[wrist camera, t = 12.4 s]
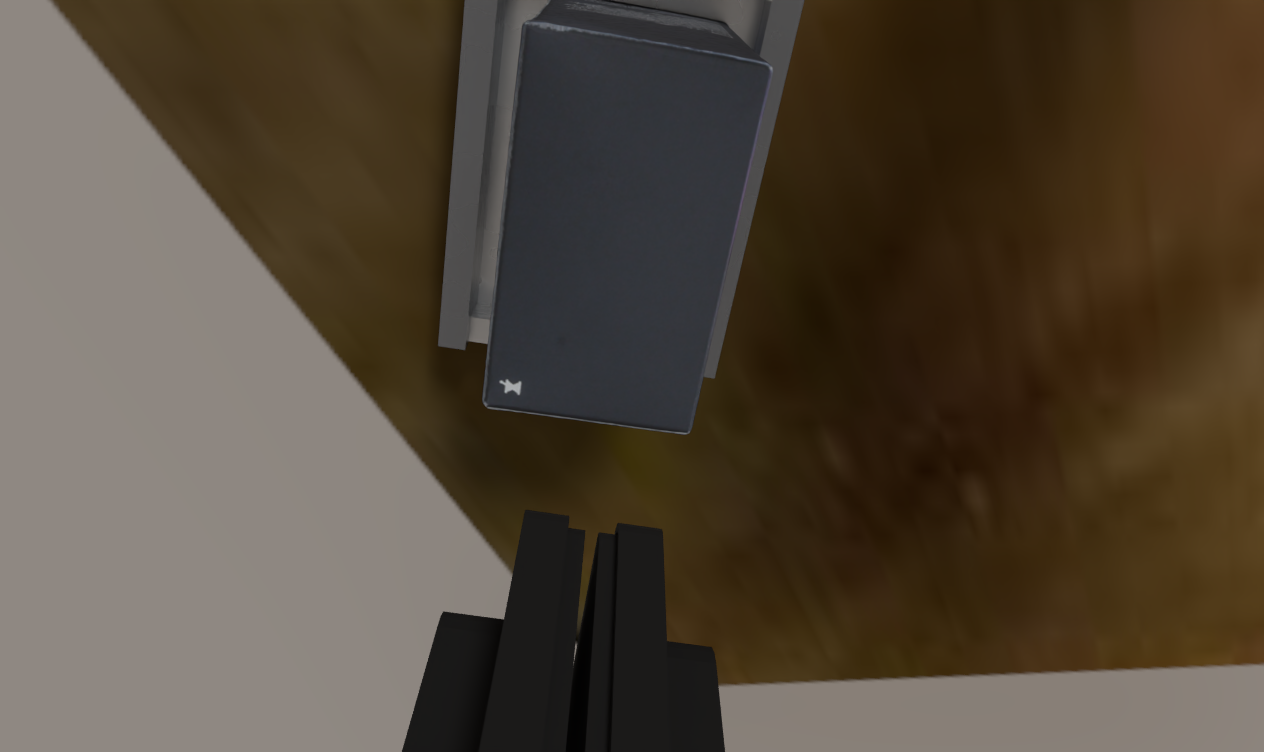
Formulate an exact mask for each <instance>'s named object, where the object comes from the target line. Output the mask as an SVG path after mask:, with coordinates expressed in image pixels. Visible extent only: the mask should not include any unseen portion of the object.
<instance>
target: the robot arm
mask: <svg viewBox="0 0 1264 752" xmlns="http://www.w3.org/2000/svg"><path fill="white" fill-rule="evenodd" d="M568 525H569V516H565V515H558V514H551V513H544V512H537V511H530V510H525V514H524V519H523V524H522V529H521V535H520V540H519V545H518V550H517V555H516V560H515V566H514V571H513V576H512V581H511V586H510V592H509V597H508V602H507V607H506V612H505V617H504V620H503V619H496V618H488V617H480V616H473V615H465V614H458V613H450V612H443V613H442V615H441V618H440V621H439V624H438V627H437V630H436V634H435V637H434V641H433V644H432V648H431V652H430V655H429V658H428V662H427V665H426V669H425V672H424V676H423V679H422V683H421V686H420V690H419V693H418V697H417V700H416V704H415V708H414V711H413V714H412V718H411V721H410V725H409V729H408V732H407V736H406V739H405V743H404V746H403V750H402V752H725V747H724V738H723V728H722V718H721V708H720V698H719V688H718V678H717V668H716V660H715V654H714V651H713V649H712V647H706V646H699V645H691V644H684V643H676V642H669V641H667V635H666V607H665V579H664V551H663V532H662V529H657V528H650V527H643V526H636V525H629V524H622V523H618V524H617V527H616V530H615V535H614V534H607V533H599V534H598V538H597V543H596V548H595V553H594V559H593V564H592V569H591V575H590V580H589V585H588V591H587V596H586V601H585V607H584V612H583V617H582V623H581V628H580V633H579V639H578V644H577V649H576V655H575V660H574V651H575V640H576V629H577V618H578V607H579V595H580V584H581V573H582V562H583V551H584V540H585V530H578V529H571V528H568ZM573 662H574V665H573Z"/></svg>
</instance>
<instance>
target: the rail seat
mask: <svg viewBox="0 0 1264 752" xmlns="http://www.w3.org/2000/svg"><path fill="white" fill-rule="evenodd" d="M548 1H549V0H465V5H464V17H463V30H462V43H461V56H460V69H459V82H458V95H457V108H456V121H455V134H454V147H453V160H452V173H451V185H450V198H449V211H448V224H447V237H446V250H445V263H444V276H443V289H442V302H441V315H440V328H439V340H438V346H441V347H448V348H454V349H461V350H465V349H466V347H467V344H468V342H469V341H471V342H478V343H485V344H488V336H489V326H490V317H491V310H492V299H493V290H494V284H495V272H496V262H497V251H498V241H499V233H500V223H501V212H502V204H503V196H504V187H505V176H506V167H507V159H508V148H509V142H510V131H511V121H512V111H513V102H514V93H515V84H516V76H517V66H518V57H519V49H520V41H521V30H522V25H523V23H524V22H525V21H527V20H531V19H532V18H534V17H535V16H536V14H538V13H539V12H540V10H541V9H543V7H544V6H545V5H546V4H547V3H548ZM612 1H617V2H624V3H628V4H634V5H639V6H645V7H650V8H656V9H661V10H666V11H671V12H676V13H684V14H688V15H692V16H698V17H702V18H707V19H712V20H718V21H722V22H725V23H726V24H727V25H728V26H729V27H730V28H731V29H732V30H733V31H734V32H735V33H736V34H737V35H738V36H739V37H740V38H741V39H742V40H743V41H744V42H745V43H746V44H747V45H748V46H749V47H750V48H751V49H753V50H754V51H755V52H756V53H757V54H758V55H759V56H760V57H761V58H763V59H764V60H766V61H767V62H768V63H769V64H770V65H771V66H772V68H773V75H772V80H771V84H770V88H769V92H768V97H767V101H766V106H765V110H764V114H763V118H762V123H761V127H760V132H759V136H758V140H757V145H756V149H755V153H754V157H753V162H752V166H751V170H750V174H749V179H748V183H747V187H746V192H745V196H744V200H743V205H742V209H741V214H740V218H739V222H738V227H737V231H736V235H735V240H734V244H733V248H732V253H731V257H730V261H729V266H728V270H727V275H726V279H725V283H724V288H723V292H722V297H721V301H720V306H719V310H718V315H717V319H716V324H715V328H714V332H713V337H712V341H711V346H710V350H709V355H708V359H707V364H706V368H705V372H704V377H708V378H715V374H716V370H717V366H718V361H719V357H720V353H721V349H722V345H723V340H724V336H725V332H726V328H727V324H728V319H729V315H730V311H731V307H732V302H733V298H734V294H735V290H736V286H737V281H738V277H739V273H740V269H741V265H742V260H743V256H744V252H745V248H746V243H747V239H748V235H749V231H750V227H751V222H752V218H753V214H754V210H755V206H756V201H757V197H758V193H759V189H760V184H761V180H762V176H763V172H764V168H765V163H766V159H767V155H768V151H769V147H770V142H771V138H772V134H773V130H774V125H775V121H776V117H777V113H778V109H779V104H780V100H781V96H782V92H783V88H784V83H785V79H786V75H787V71H788V66H789V62H790V58H791V54H792V50H793V45H794V41H795V37H796V33H797V29H798V24H799V20H800V16H801V12H802V7H803V3H804V0H612Z"/></svg>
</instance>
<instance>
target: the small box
mask: <svg viewBox="0 0 1264 752" xmlns="http://www.w3.org/2000/svg"><path fill="white" fill-rule="evenodd" d="M772 75H773V68H772V66H771V65H770V64H769V63H768V62H767V61H766V60H764V59H763V58H761V57H760V56H759V55H758V54H757V53H756V52H755V51H754V50H753V49H751V48H750V47H749V46H748V45H747V44H746V43H745V42H744V41H743V40H742V39H741V38H740V37H739V36H738V35H737V34H736V33H735V32H734V31H733V30H732V29H731V28H730V27H729V26H728V25H727V24H726V23H725V22H722V21H718V20H712V19H707V18H702V17H698V16H692V15H688V14H684V13H676V12H671V11H666V10H661V9H656V8H650V7H645V6H639V5H634V4H628V3H624V2H617V1H612V0H549V1H548V3H547V4H546V5H545V6H544V7H543V9H541V10H540V12H539V13H538V14H536V16H535V17H534V18H532V19H531V20H527V21H525V22H524V23H523V25H522V30H521V41H520V49H519V57H518V66H517V76H516V84H515V93H514V102H513V111H512V121H511V131H510V142H509V148H508V159H507V167H506V176H505V187H504V196H503V204H502V212H501V223H500V233H499V241H498V251H497V262H496V272H495V284H494V290H493V299H492V310H491V317H490V326H489V336H488V346H487V357H486V368H485V376H484V386H483V394H482V401H483V404H484V405H485V406H486V407H487V408H489V409H494V410H502V411H512V412H523V413H528V414H535V415H543V416H549V417H556V418H564V419H572V420H579V421H588V422H593V423H599V424H609V425H615V426H622V427H630V428H637V429H645V430H651V431H661V432H667V433H676V434H682V435H685V434H688V433H690V431H691V429H692V426H693V422H694V417H695V412H696V408H697V404H698V399H699V395H700V390H701V386H702V381H703V377H704V372H705V368H706V364H707V359H708V355H709V350H710V346H711V341H712V337H713V332H714V328H715V324H716V319H717V315H718V310H719V306H720V301H721V297H722V292H723V288H724V283H725V279H726V275H727V270H728V266H729V261H730V257H731V253H732V248H733V244H734V240H735V235H736V231H737V227H738V222H739V218H740V214H741V209H742V205H743V200H744V196H745V192H746V187H747V183H748V179H749V174H750V170H751V166H752V162H753V157H754V153H755V149H756V145H757V140H758V136H759V132H760V127H761V123H762V118H763V114H764V110H765V106H766V101H767V97H768V92H769V88H770V84H771V80H772Z"/></svg>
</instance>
